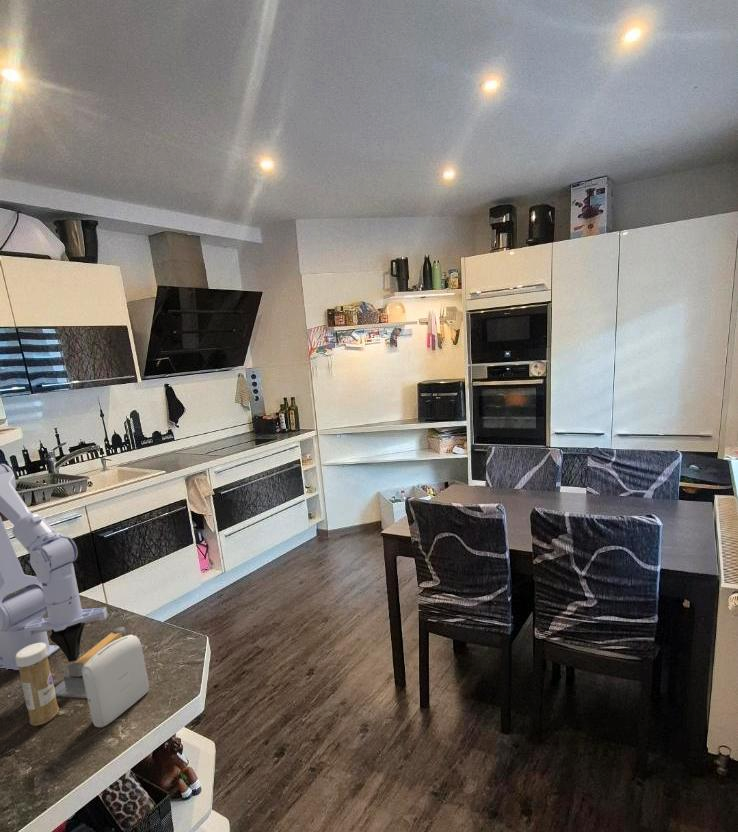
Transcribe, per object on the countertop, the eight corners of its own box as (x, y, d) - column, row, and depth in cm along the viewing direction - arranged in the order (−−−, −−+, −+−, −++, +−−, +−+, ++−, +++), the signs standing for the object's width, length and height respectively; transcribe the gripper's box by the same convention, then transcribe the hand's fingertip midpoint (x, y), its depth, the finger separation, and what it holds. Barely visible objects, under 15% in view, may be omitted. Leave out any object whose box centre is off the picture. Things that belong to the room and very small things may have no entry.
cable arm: (119, 634, 103) (118, 626, 103) (128, 635, 102) (127, 626, 102) (69, 676, 90) (67, 666, 90) (79, 676, 89) (78, 667, 89)
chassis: (48, 695, 89) (45, 681, 89) (108, 645, 104) (106, 633, 104) (89, 698, 87) (86, 684, 87) (144, 647, 102) (142, 635, 102)
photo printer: (103, 731, 79) (90, 665, 77) (87, 724, 81) (74, 660, 79) (153, 690, 88) (143, 630, 86) (139, 685, 90) (128, 626, 88)
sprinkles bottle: (59, 718, 83) (45, 649, 81) (28, 731, 80) (13, 661, 79) (59, 703, 87) (46, 638, 85) (30, 715, 84) (16, 648, 83)
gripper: (11, 615, 88) (25, 680, 90) (95, 598, 92) (106, 660, 93) (28, 598, 95) (41, 658, 97) (105, 582, 98) (116, 641, 100)
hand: (74, 658), depth 95 cm, fingers closed
